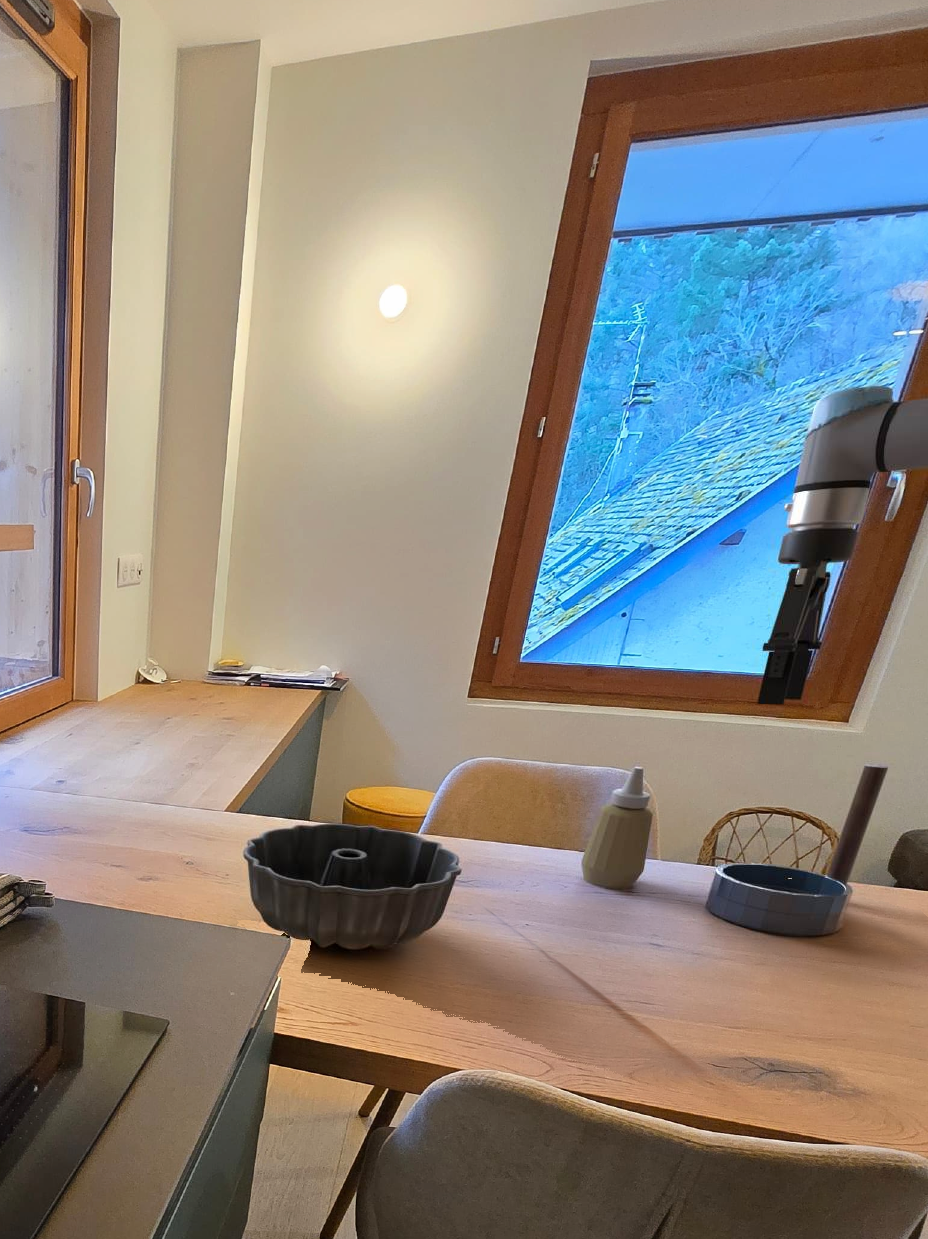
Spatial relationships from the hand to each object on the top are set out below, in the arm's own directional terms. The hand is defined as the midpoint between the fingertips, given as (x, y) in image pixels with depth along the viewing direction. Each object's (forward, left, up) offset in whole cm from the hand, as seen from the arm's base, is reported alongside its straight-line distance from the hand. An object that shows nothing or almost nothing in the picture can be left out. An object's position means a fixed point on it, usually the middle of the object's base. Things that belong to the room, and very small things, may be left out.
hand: (779, 702), depth 128 cm
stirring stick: (-6, -11, -27) cm, 30 cm away
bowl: (-11, +1, -27) cm, 29 cm away
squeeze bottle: (+3, +15, -27) cm, 31 cm away
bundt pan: (-13, +60, -27) cm, 67 cm away
